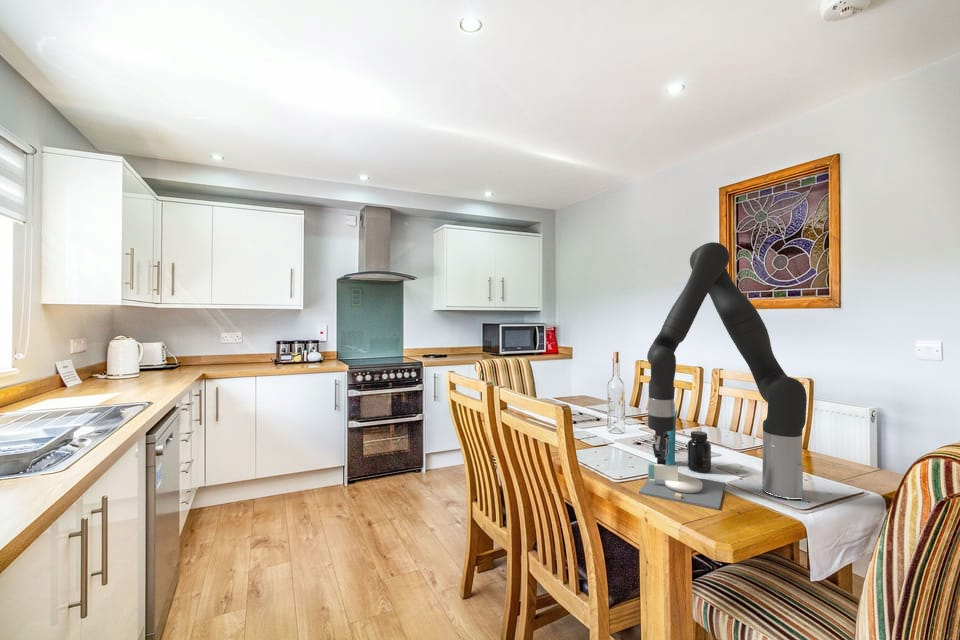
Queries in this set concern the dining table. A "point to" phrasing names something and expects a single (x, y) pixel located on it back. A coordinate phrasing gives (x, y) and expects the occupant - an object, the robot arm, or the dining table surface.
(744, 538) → the dining table surface
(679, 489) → the dial
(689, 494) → the dial board
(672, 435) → the tube
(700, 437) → the supplement bottle
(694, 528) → the dining table surface
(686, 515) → the dining table surface
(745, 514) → the dining table surface
